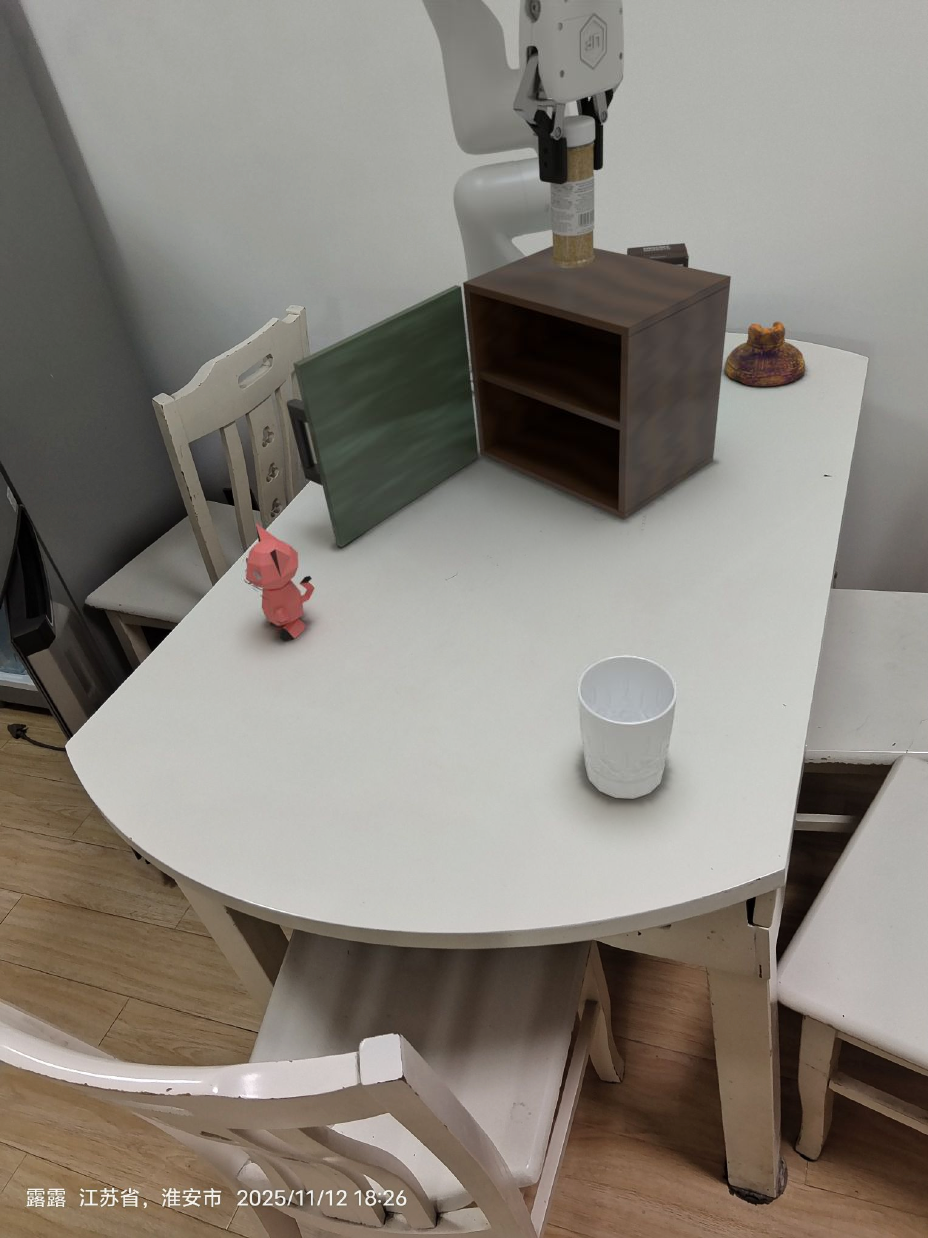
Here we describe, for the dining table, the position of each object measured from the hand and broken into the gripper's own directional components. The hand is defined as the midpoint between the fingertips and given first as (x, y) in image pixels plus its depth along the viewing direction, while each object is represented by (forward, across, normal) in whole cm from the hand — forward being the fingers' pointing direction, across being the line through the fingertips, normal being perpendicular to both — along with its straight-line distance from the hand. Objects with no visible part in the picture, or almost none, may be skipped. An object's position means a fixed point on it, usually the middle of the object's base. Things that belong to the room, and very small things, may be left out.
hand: (571, 172), depth 85 cm
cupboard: (+38, +8, +4) cm, 39 cm away
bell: (+38, +44, 0) cm, 59 cm away
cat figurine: (+38, -40, +7) cm, 55 cm away
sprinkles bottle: (+9, 0, 0) cm, 9 cm away
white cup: (+37, -32, -33) cm, 59 cm away
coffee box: (+39, +41, +18) cm, 59 cm away
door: (+38, -14, +19) cm, 45 cm away
